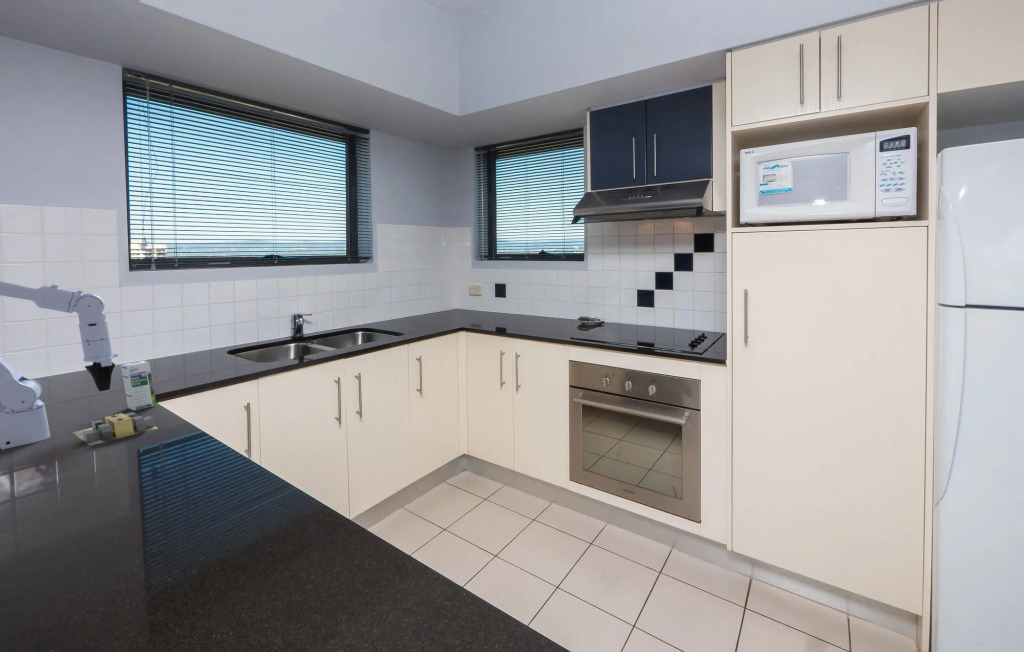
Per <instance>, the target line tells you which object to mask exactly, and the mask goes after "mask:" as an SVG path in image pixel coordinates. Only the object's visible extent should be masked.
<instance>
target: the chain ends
mask: <svg viewBox="0 0 1024 652" xmlns="http://www.w3.org/2000/svg"><path fill="white" fill-rule="evenodd" d="M125 415H127V416H128V417H130V418H132V424H133V430H134V432H136V433H138V434H141V432H142V433H145V431H146V428H150V427H154V426H155V422H154V421H155V420H154V417H151V416H149V415H148V416H142V415H138V414H137V413H136V412H133V411H132V412H128V413H125ZM91 425H92V426H91V427H92V428H93V429H92V430H88V431H83V432H82V435H83V440H84V441H85V442H86V443H85V442H84V441H83V440H82V441H83V442H84V443H85V444H87V443H90V442H94V441H98V440H102V441H103V442H102V443H107V442H109V440H110V441H114V440H113V436H112V430H111V425H109V424H106V423H105V420H103V419H97V420H92V421H91ZM146 432H147V431H146Z"/></svg>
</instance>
